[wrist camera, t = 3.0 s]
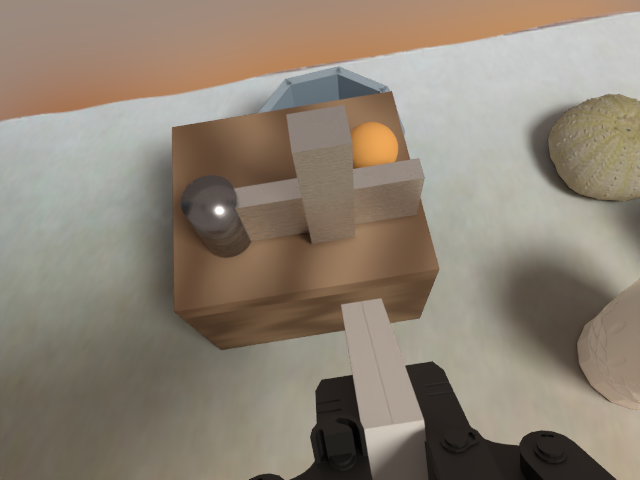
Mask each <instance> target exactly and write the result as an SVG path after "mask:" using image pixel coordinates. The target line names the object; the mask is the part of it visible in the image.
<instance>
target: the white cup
mask: <svg viewBox="0 0 640 480" xmlns="http://www.w3.org/2000/svg"><path fill="white" fill-rule="evenodd" d="M577 349H578V359H579V365H580V367H581V369H582V371H583V372H584V374H585V376H586V378H587V379H588V381H589V383H590V385H591V386H592V387H593V388H594V389H596V390H597V391H598V392H599V393H601V394H602V395H603V396H604V397H606V398H607V399H608V400H609V401H610V402H612V403H615V404H618V405H622V406H625V407H628V408H631V409H634V410H640V279H638V280H637V281H636V282H634V283H633V284H632V285H631V286H629V287H628V288H627V289H625V290H624V291H623V292H622V293H620V294H619V295H618V296H617V297H616V298H615V299H613V300H612V301H611V302H610V303H609V304H608V305H607V306H605V307H604V308H603V310H602V311H601V312H600V313H599V314H598V315H597V316H596V317H595V318H594V319H592V320H591V321H589V322H588V323H587V324H586V325H585V326H584V328H583V330H582V333H581V335H580V337H579V340H578V342H577Z"/></svg>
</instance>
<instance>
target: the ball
mask: <svg viewBox="0 0 640 480" xmlns="http://www.w3.org/2000/svg"><path fill="white" fill-rule="evenodd" d="M350 134H351V139H352V147H353V169H356V168H362V167H368V166H375V165H381V164H387V163H393V162H395V161H396V158H397V155H398V143H397V139H396V137H395V135H394V133H393V132H392V131H391V130H390V129H389V128H388V127H387V126H385V125H383V124H381V123H377V122H366V123H362V124H360V125H358V126H356V127H355V128H354V129H353V130H352V131H351V132H350Z"/></svg>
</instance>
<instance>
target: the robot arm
mask: <svg viewBox="0 0 640 480" xmlns="http://www.w3.org/2000/svg"><path fill="white" fill-rule="evenodd" d="M341 307H342V314H343V320H344V326H345V332H346V339H347V345H348V351H349V357H350V364H351V370H352V375H349V376H343V377H337V378H330V379H324V380H321V382H320V384H319V385H318V387H317V389H316V391H315V392H316V413H317V415H316V416H317V424H316V425H315V427H314V428H313V429H312V432H311V436H310V438H311V443H312V448H313V453H314V458H315V462H314V463H313V464H312V466H311V467H310V468H309V469H308V470H307V471H305V472H304V473H302V474H301V475H299V476H297V477H295V478H293V479H290V480H616V479H615V478H614V477H613V476H612V475H611V474H610V473H608V472H607V471H606V470H605V469H604V468H603V467H602V466H601V465H599V464H598V463H597V462H596V461H595V460H594V459H593V458H592V457H590V456H589V455H588V454H587V453H586V452H585V451H584V450H583V449H581V448H580V447H579V446H578V445H577V444H576V443H575V442H573V441H572V440H570V439H569V438H567V437H566V436H564V435H561V434H559V433H556V432H552V431H536V432H531V433H529V434H527V435H526V436H524V437H523V438H522V440H521V442H520V444H519V445H520V446H518V445H508V444H500V443H495V442H492V441H489V440H486V439H484V438H483V437H482V436H481V435H480V434H479V432H478V431H477V430H475V429H473V428H472V427H471V426H470V425H469V422H468V420H467V418H466V416H465V414H464V412H463V410H462V408H461V406H460V403H459V401H458V399H457V397H456V395H455V393H454V392H453V389H452V387H451V385H450V383H449V380H448V378H447V376H446V374H445V372H444V370H443V369H442V368H440V367H439V366H438V365H436V364H435V363H434V362H433V361H432V362H426V363H419V364H413V365H406V366H405V364H404V361H403V359H402V356H401V353H400V350H399V347H398V344H397V341H396V339H395V336H394V333H393V330H392V327H391V324H390V322H389V319H388V316H387V313H386V310H385V307H384V304H383V302H382V299H381V298H380V299H373V300H367V301H361V302H355V303H348V304H342V305H341ZM249 480H284V479H283V478H281V477H280V476H279V475H274V474H262V475H258V476H256V477H253V478H251V479H249Z"/></svg>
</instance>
